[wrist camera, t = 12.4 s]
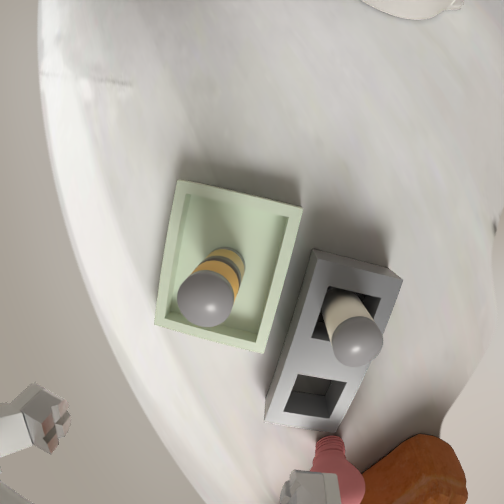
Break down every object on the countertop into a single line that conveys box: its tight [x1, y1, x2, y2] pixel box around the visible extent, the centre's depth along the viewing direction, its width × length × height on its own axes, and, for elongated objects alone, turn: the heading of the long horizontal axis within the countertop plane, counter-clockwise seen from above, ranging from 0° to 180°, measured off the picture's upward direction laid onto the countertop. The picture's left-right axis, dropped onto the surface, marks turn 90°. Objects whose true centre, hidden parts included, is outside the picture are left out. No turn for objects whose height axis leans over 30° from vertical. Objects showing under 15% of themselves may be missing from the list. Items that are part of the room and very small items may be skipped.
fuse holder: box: [264, 249, 403, 433], centre depth 29 cm, size 18×8×4 cm, turn 167°
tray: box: [154, 180, 303, 354], centre depth 29 cm, size 14×11×2 cm
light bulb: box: [310, 436, 365, 504], centre depth 28 cm, size 7×7×12 cm
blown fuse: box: [177, 247, 245, 327], centre depth 25 cm, size 4×4×9 cm
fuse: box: [321, 286, 383, 367], centre depth 26 cm, size 4×4×9 cm
